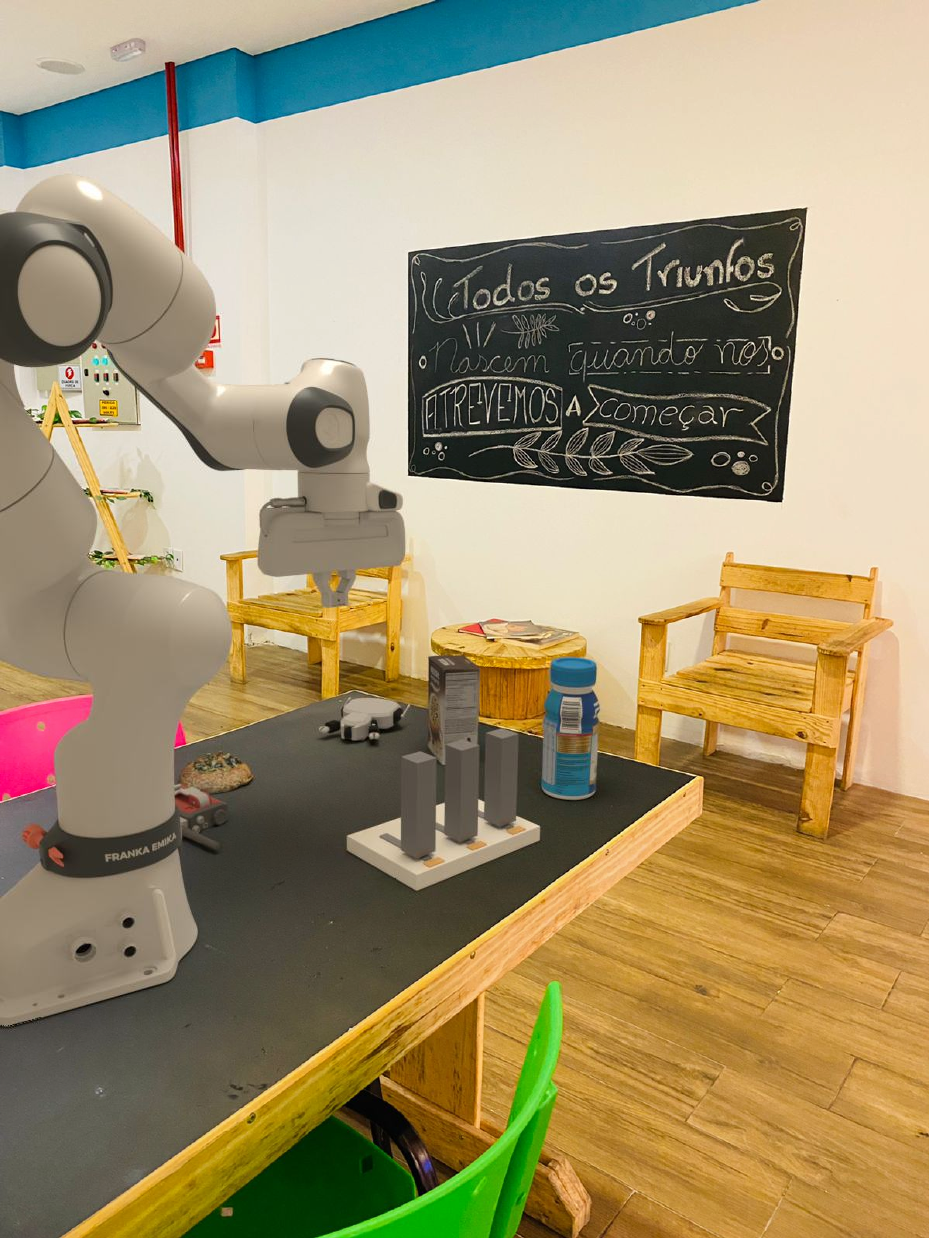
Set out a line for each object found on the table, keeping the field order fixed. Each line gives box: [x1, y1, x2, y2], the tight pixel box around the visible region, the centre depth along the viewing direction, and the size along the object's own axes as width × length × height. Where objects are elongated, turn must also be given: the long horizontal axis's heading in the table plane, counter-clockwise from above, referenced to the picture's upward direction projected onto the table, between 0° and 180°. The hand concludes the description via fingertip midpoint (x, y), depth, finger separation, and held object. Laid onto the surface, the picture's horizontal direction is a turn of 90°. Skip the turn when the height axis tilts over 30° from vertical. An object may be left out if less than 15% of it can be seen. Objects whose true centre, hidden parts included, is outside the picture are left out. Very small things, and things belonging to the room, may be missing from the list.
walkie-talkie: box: [174, 782, 229, 850], centre depth 124 cm, size 9×4×20 cm
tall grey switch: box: [400, 751, 438, 859], centre depth 111 cm, size 3×3×12 cm
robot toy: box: [318, 696, 411, 741], centre depth 164 cm, size 12×4×15 cm
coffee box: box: [427, 654, 481, 766], centre depth 152 cm, size 9×6×16 cm
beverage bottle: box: [541, 656, 601, 801], centre depth 137 cm, size 8×8×20 cm
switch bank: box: [346, 798, 541, 891], centre depth 119 cm, size 21×14×2 cm, turn 132°
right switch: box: [483, 727, 520, 827], centre depth 120 cm, size 3×3×12 cm
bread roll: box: [178, 750, 254, 795], centre depth 140 cm, size 11×11×5 cm
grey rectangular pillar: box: [444, 739, 481, 842], centre depth 116 cm, size 3×3×12 cm
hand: (334, 606), depth 116 cm, fingers closed
